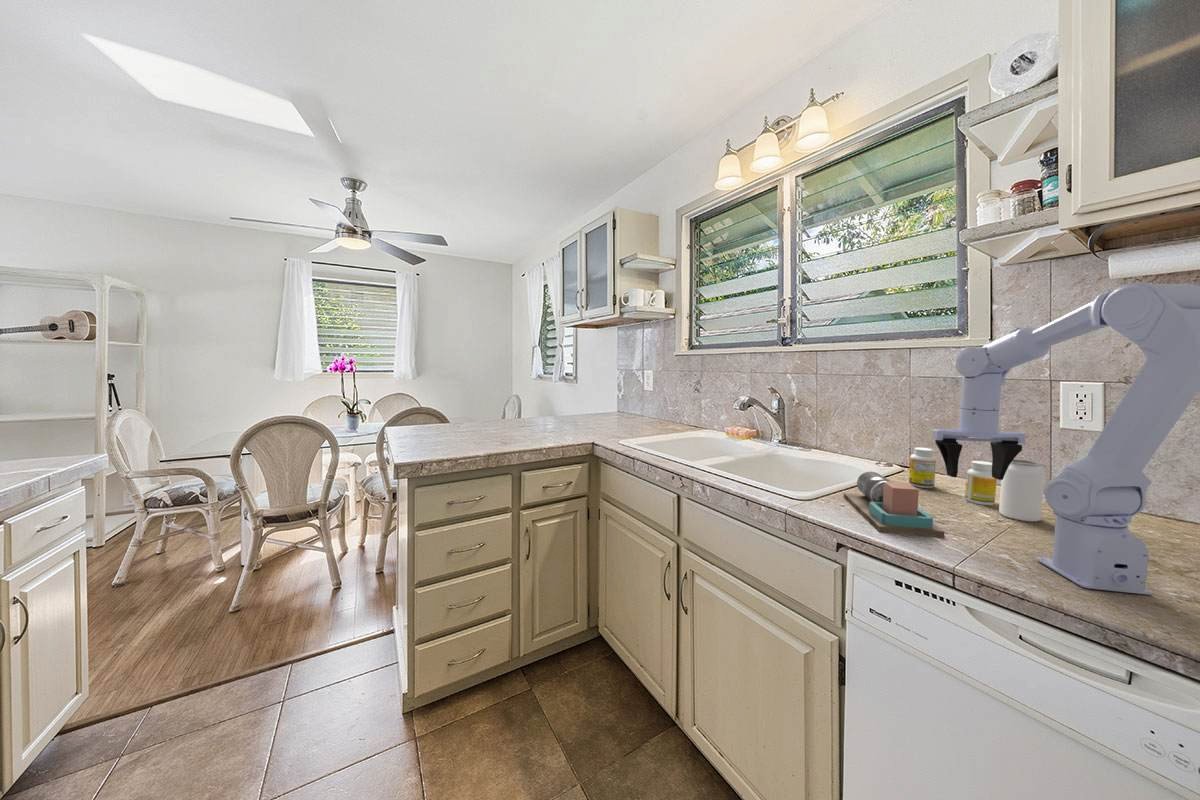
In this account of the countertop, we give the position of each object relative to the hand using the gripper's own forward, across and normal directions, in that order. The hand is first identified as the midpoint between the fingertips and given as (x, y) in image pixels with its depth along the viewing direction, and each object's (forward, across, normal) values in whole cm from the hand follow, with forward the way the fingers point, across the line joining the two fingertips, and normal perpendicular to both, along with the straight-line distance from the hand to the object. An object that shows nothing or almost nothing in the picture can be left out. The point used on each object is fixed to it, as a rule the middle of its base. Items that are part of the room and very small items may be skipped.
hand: (974, 477), depth 84 cm
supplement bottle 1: (+11, -5, -32) cm, 34 cm away
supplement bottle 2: (+11, -12, -20) cm, 26 cm away
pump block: (+9, +13, +1) cm, 16 cm away
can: (+11, -14, -10) cm, 20 cm away
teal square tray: (+10, +13, +1) cm, 17 cm away
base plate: (+10, +13, -5) cm, 17 cm away
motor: (+10, +13, -9) cm, 19 cm away
